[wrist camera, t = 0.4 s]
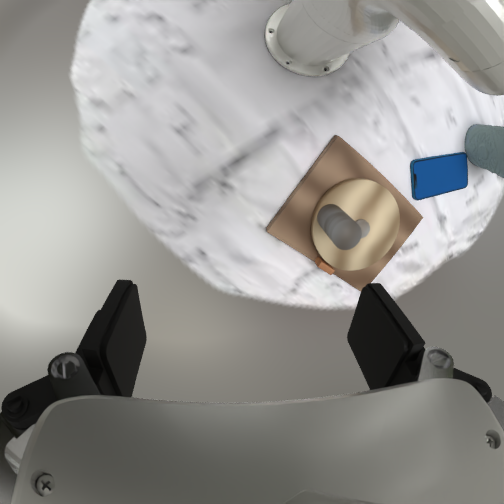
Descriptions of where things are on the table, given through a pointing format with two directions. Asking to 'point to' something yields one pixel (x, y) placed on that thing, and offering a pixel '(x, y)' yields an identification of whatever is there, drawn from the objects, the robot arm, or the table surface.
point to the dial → (355, 224)
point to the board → (310, 192)
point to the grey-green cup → (486, 147)
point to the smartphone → (438, 175)
